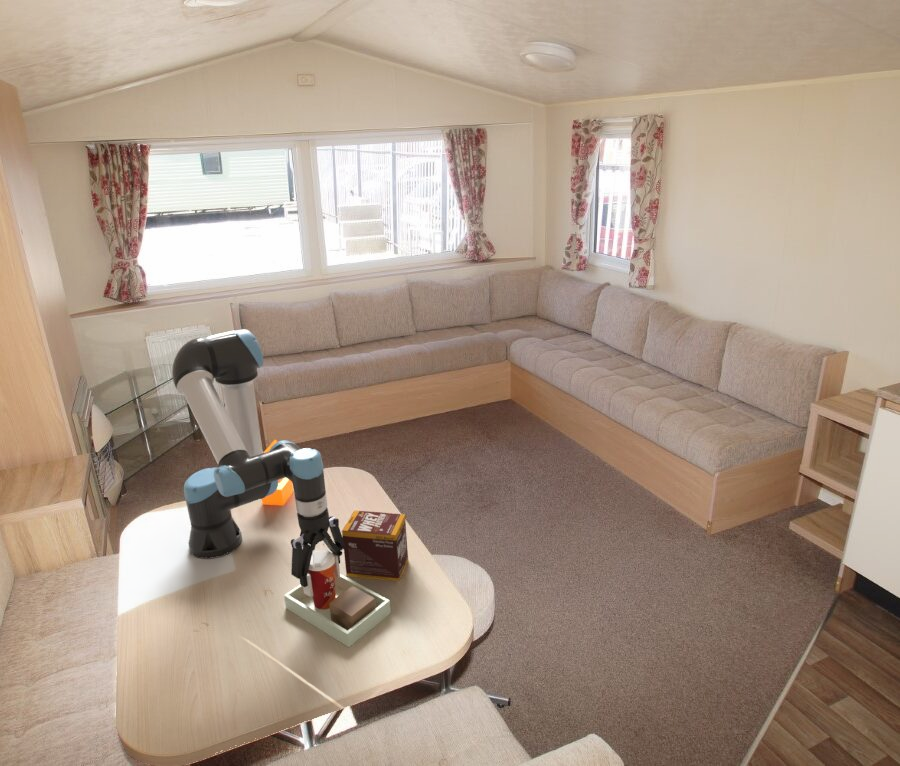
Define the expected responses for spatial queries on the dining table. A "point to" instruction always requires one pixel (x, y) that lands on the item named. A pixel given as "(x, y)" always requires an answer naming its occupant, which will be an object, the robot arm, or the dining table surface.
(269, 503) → the orange juice
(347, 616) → the walnut block
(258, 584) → the dining table surface
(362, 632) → the tote
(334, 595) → the paper cup
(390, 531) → the supplement box
